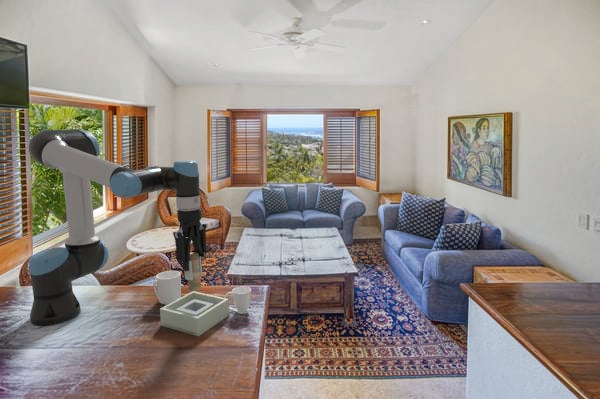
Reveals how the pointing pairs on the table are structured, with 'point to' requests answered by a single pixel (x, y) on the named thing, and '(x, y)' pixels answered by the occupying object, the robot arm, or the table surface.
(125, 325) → the table surface
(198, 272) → the peg
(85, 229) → the robot arm
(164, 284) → the mug
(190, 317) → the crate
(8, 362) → the table surface
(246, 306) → the cup
